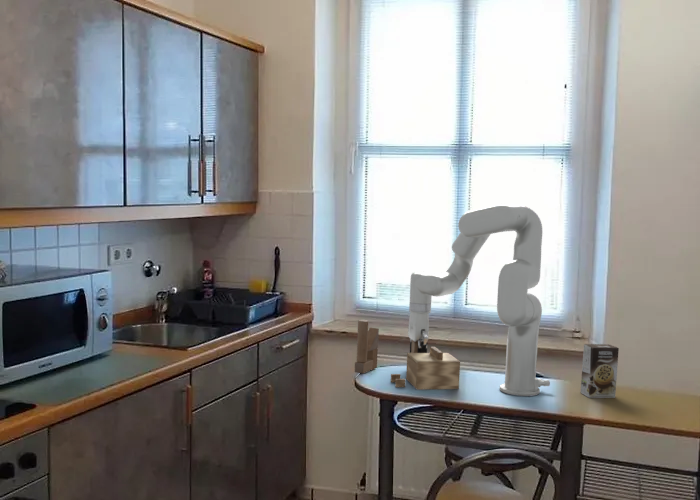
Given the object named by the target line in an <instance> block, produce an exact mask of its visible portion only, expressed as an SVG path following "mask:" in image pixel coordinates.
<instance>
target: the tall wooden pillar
mask: <svg viewBox="0 0 700 500" xmlns="http://www.w3.org/2000/svg"><path fill="white" fill-rule="evenodd" d="M418 348H419V346H418V340H417V341H413V340H412V345H411V353H418Z"/></svg>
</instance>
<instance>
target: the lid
mask: <svg viewBox="0 0 700 500" xmlns="http://www.w3.org/2000/svg"><path fill="white" fill-rule="evenodd" d="M407 353H408V356H409V357H410V358H412V359H413V360H414V361H415V362H416V363H417V362H420V361H460V360H459V359H457V358H456V357H454V356H453V355H452V354H450V353H449V352H443V351H442V350H440V349H439V348H437V347H436V346H430V347H429V352H427V353H410V352H407Z"/></svg>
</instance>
